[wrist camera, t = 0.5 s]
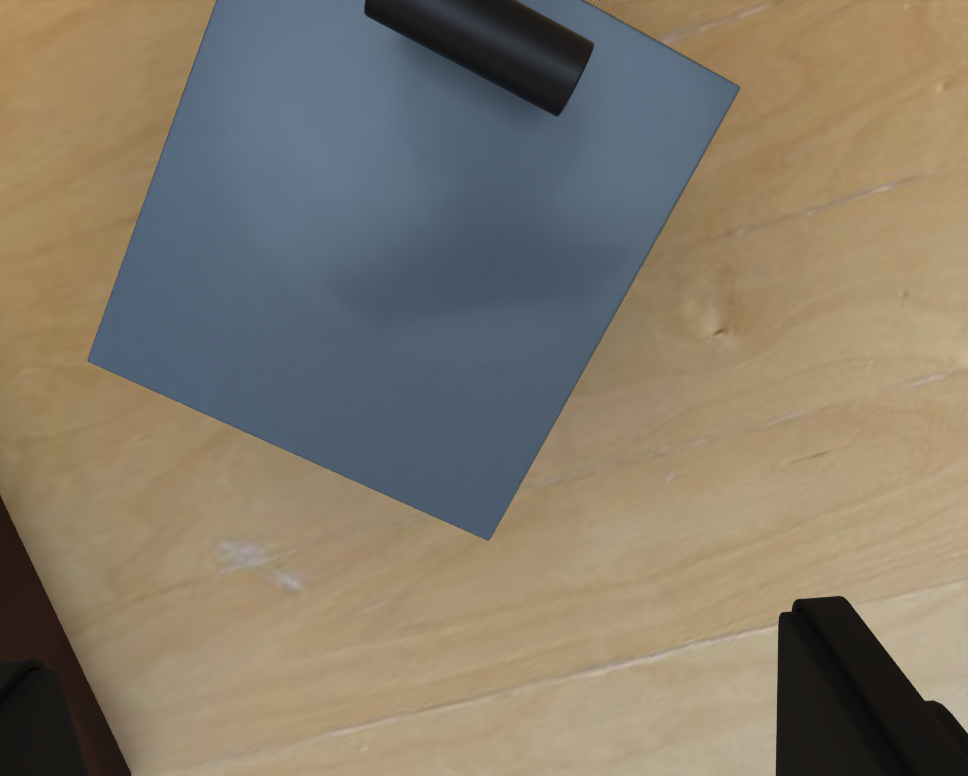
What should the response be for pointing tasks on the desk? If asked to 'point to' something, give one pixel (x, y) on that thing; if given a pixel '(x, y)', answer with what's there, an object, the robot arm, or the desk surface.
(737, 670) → the desk surface
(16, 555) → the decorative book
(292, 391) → the lid
